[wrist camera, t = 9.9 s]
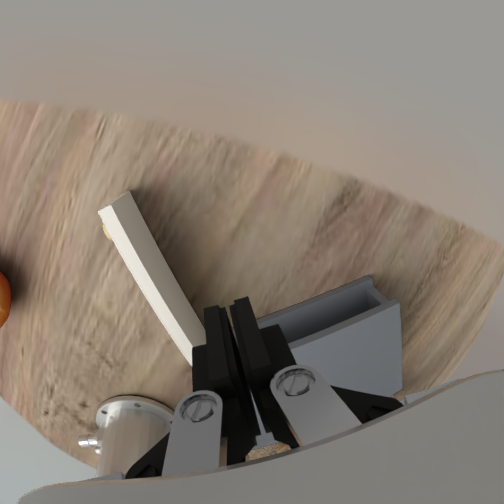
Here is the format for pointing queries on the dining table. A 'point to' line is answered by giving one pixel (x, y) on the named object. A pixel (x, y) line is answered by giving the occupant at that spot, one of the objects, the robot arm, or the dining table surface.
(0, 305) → the fruit
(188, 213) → the dining table surface
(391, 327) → the cabinet
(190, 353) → the door
